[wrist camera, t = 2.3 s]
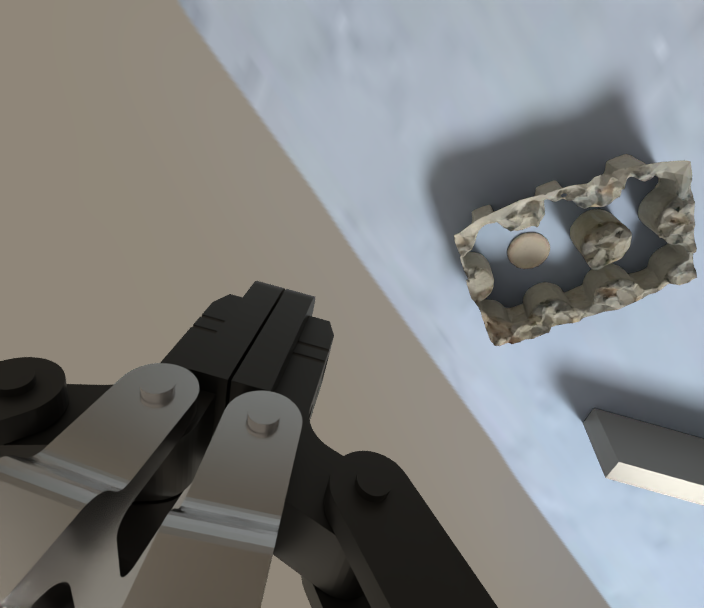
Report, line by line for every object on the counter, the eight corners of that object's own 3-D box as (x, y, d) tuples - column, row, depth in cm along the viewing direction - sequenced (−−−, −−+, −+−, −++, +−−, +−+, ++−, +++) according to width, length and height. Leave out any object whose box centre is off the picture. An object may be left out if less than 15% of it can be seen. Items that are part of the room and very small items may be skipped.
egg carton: (478, 315, 28) (485, 353, 24) (445, 204, 24) (448, 231, 21) (672, 269, 24) (712, 307, 21) (664, 135, 21) (710, 152, 18)
